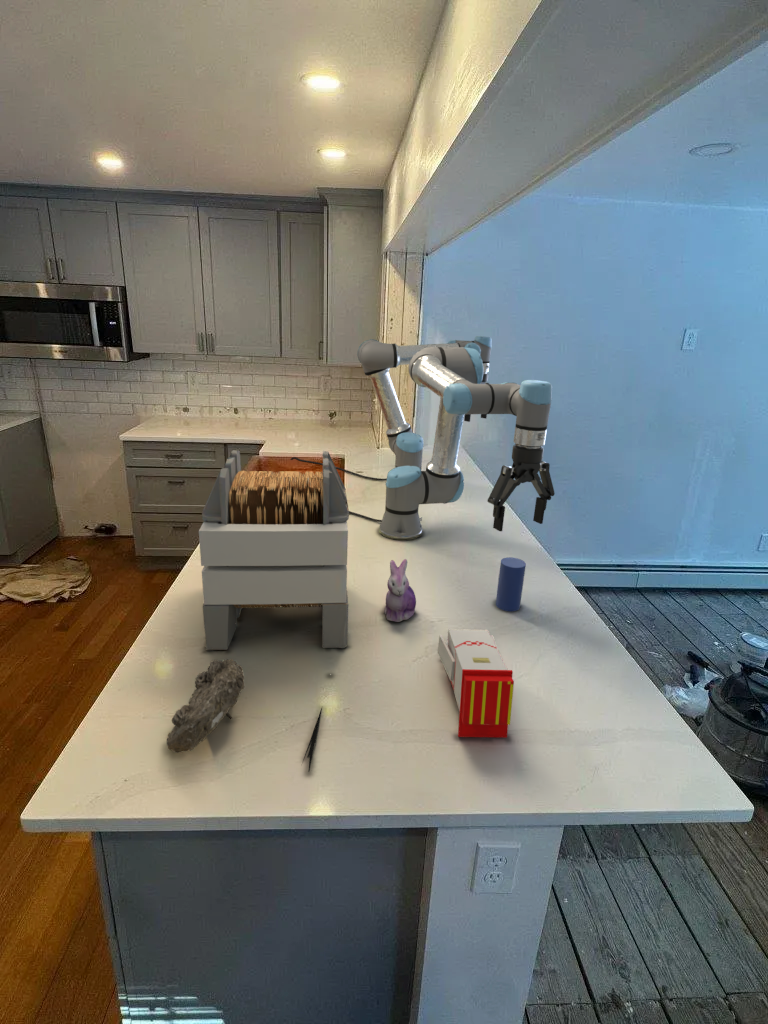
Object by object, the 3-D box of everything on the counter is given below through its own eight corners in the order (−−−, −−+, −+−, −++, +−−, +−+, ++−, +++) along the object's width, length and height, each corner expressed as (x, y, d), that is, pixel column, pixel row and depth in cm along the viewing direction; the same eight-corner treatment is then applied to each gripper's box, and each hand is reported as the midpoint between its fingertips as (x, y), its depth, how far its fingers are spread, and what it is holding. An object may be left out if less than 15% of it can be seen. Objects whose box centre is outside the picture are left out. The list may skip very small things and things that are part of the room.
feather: (331, 679, 122) (336, 673, 122) (307, 777, 96) (313, 769, 95) (324, 675, 122) (329, 669, 121) (298, 772, 95) (304, 764, 95)
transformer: (226, 583, 159) (217, 441, 145) (342, 582, 163) (345, 443, 149) (203, 652, 127) (189, 478, 114) (348, 648, 131) (352, 480, 117)
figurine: (392, 627, 141) (395, 572, 136) (374, 608, 149) (376, 556, 144) (425, 619, 145) (429, 566, 140) (405, 601, 154) (408, 550, 149)
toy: (488, 613, 130) (523, 677, 101) (484, 667, 133) (517, 744, 104) (435, 612, 130) (455, 676, 101) (432, 666, 133) (451, 743, 103)
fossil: (192, 660, 117) (244, 628, 112) (224, 691, 120) (276, 661, 115) (142, 746, 98) (202, 712, 93) (182, 779, 101) (242, 748, 96)
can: (524, 608, 153) (531, 564, 149) (506, 613, 150) (512, 569, 146) (508, 597, 159) (513, 555, 154) (490, 602, 155) (495, 559, 151)
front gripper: (499, 452, 130) (489, 538, 138) (576, 444, 142) (563, 523, 149) (478, 445, 136) (470, 527, 144) (554, 438, 148) (543, 514, 155)
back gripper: (471, 374, 243) (466, 424, 250) (501, 372, 260) (496, 418, 267) (457, 373, 247) (452, 421, 254) (488, 370, 265) (483, 415, 272)
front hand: (518, 525), depth 146 cm, fingers open, 13 cm apart
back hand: (475, 419), depth 261 cm, fingers open, 13 cm apart
